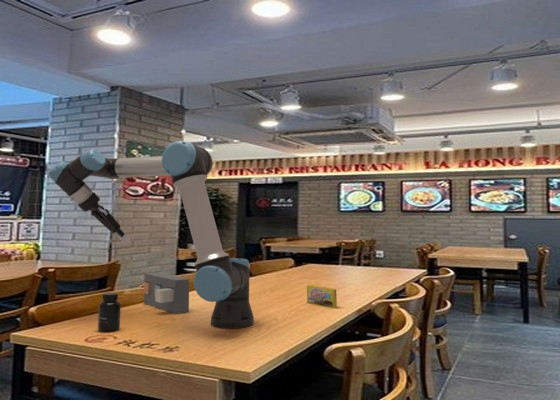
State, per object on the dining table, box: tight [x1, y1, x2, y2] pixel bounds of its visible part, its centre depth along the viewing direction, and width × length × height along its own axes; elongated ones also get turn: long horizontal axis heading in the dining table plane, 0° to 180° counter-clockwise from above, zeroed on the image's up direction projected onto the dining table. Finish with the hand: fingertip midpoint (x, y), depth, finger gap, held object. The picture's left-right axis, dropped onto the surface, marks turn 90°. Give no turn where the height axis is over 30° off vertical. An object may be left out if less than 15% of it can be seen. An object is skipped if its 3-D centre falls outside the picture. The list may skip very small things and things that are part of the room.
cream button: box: [155, 288, 174, 303], centre depth 178 cm, size 8×5×5 cm, turn 130°
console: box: [143, 272, 190, 315], centre depth 190 cm, size 6×29×13 cm, turn 40°
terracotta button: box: [143, 281, 150, 294], centre depth 198 cm, size 8×5×5 cm, turn 130°
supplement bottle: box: [97, 292, 122, 333], centre depth 151 cm, size 7×7×12 cm
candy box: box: [306, 284, 338, 309], centre depth 196 cm, size 16×2×8 cm, turn 42°
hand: (127, 241), depth 180 cm, fingers closed
